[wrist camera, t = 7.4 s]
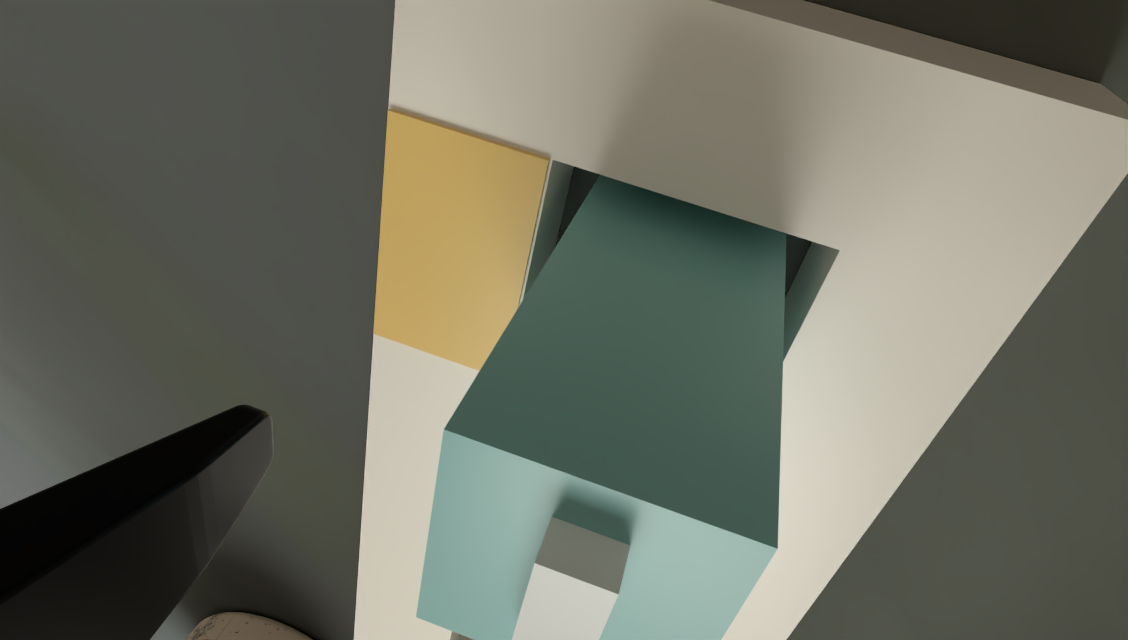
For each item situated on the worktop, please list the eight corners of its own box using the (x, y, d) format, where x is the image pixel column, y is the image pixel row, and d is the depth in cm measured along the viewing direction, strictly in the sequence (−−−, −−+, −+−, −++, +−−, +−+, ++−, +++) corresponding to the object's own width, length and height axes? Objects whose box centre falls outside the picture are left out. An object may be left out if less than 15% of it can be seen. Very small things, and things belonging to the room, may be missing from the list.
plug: (787, 216, 15) (775, 602, 7) (724, 358, 18) (665, 767, 10) (608, 160, 16) (417, 470, 8) (570, 307, 18) (394, 659, 10)
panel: (1101, 83, 12) (1163, 132, 10) (667, 745, 28) (656, 819, 25) (460, -97, 14) (398, -87, 12) (381, 632, 29) (348, 693, 27)
